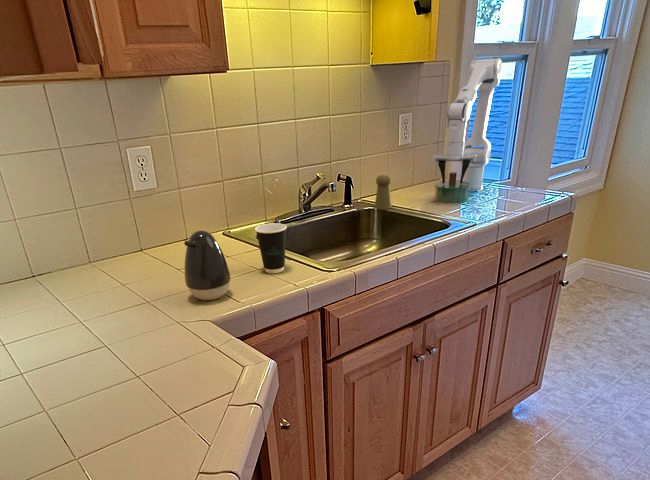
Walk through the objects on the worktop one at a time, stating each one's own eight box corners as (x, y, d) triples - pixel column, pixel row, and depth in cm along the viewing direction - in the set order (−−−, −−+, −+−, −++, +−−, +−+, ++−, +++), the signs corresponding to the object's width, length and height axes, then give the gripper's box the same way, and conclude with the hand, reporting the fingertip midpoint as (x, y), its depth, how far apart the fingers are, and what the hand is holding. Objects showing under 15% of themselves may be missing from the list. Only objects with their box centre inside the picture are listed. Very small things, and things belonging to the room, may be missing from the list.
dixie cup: (272, 277, 124) (267, 233, 118) (253, 270, 129) (248, 228, 124) (296, 269, 128) (293, 226, 123) (277, 262, 134) (273, 221, 128)
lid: (435, 184, 186) (436, 169, 183) (470, 183, 182) (471, 169, 180) (432, 191, 176) (433, 175, 173) (469, 191, 172) (471, 175, 170)
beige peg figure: (371, 206, 181) (371, 175, 176) (385, 204, 183) (386, 172, 178) (380, 210, 176) (381, 177, 171) (394, 207, 178) (395, 175, 173)
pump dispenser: (178, 301, 114) (165, 235, 106) (206, 285, 122) (196, 223, 114) (214, 307, 110) (203, 239, 102) (241, 290, 117) (232, 226, 110)
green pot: (435, 197, 188) (436, 182, 185) (467, 197, 185) (469, 182, 182) (433, 204, 178) (434, 189, 176) (466, 205, 175) (468, 189, 172)
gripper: (433, 143, 170) (430, 185, 177) (478, 142, 166) (473, 185, 173) (434, 141, 176) (432, 181, 183) (478, 140, 172) (473, 181, 179)
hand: (452, 182), depth 178 cm, fingers open, 5 cm apart
